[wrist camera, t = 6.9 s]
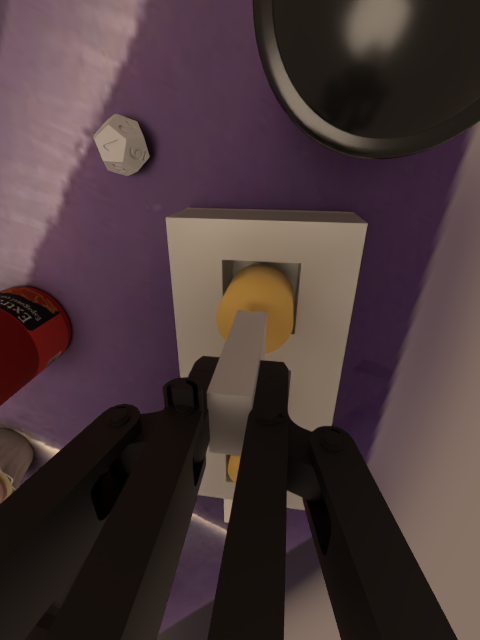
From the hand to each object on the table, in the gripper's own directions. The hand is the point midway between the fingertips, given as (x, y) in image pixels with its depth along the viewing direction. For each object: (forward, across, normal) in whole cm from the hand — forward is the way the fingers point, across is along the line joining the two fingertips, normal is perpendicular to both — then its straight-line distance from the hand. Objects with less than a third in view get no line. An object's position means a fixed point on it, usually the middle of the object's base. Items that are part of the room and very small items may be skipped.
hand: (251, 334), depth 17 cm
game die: (+11, +10, -9) cm, 17 cm away
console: (+10, 0, +8) cm, 13 cm away
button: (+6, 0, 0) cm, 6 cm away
